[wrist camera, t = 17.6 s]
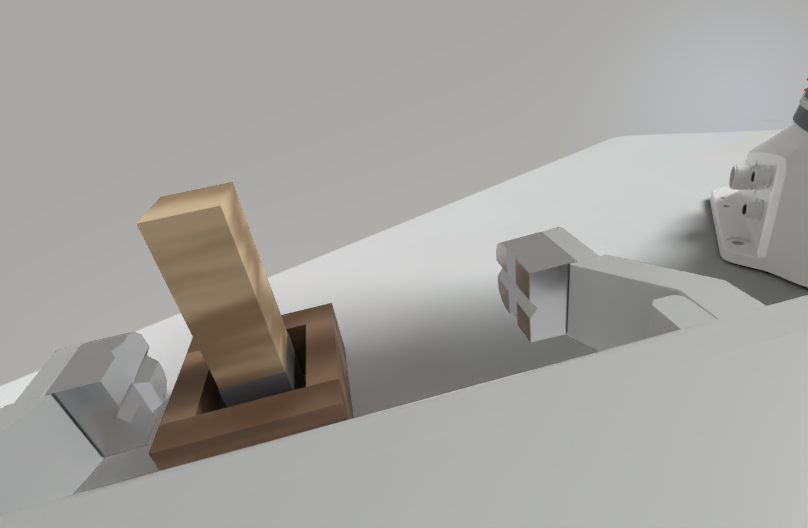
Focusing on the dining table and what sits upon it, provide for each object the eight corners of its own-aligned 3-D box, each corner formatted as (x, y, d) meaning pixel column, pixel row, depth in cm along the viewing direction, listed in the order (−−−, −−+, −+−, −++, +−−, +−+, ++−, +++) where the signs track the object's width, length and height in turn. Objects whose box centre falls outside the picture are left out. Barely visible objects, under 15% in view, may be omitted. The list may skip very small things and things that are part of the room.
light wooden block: (307, 427, 29) (221, 205, 21) (245, 444, 28) (134, 224, 21) (306, 384, 32) (233, 181, 25) (252, 399, 32) (159, 197, 24)
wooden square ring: (357, 454, 26) (341, 402, 24) (182, 503, 25) (148, 454, 23) (344, 347, 35) (331, 303, 33) (215, 380, 34) (193, 336, 32)
